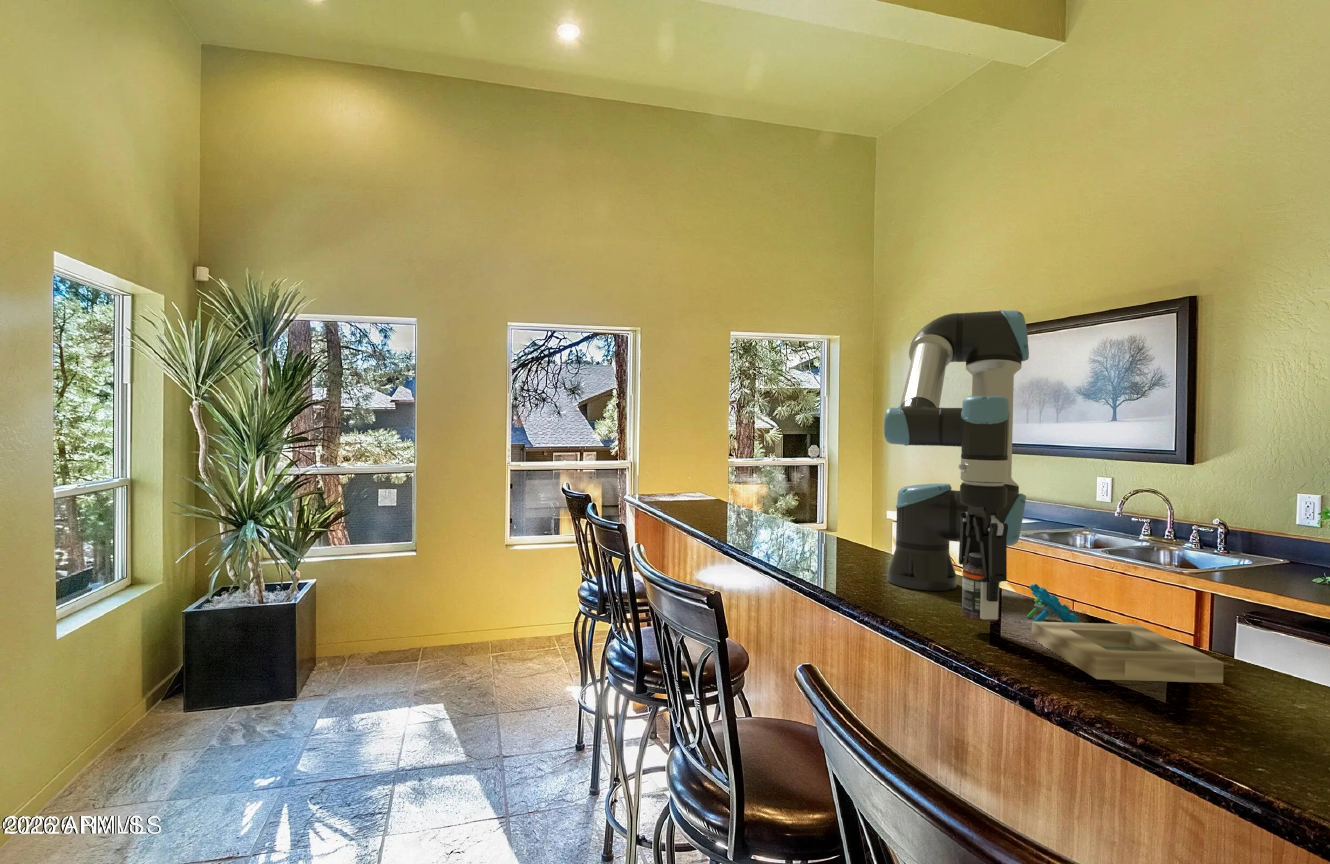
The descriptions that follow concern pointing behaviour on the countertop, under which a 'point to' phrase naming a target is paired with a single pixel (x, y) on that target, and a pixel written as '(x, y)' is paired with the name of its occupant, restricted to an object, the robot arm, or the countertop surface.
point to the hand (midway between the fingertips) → (980, 612)
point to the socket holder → (1126, 652)
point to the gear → (1049, 606)
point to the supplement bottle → (973, 588)
